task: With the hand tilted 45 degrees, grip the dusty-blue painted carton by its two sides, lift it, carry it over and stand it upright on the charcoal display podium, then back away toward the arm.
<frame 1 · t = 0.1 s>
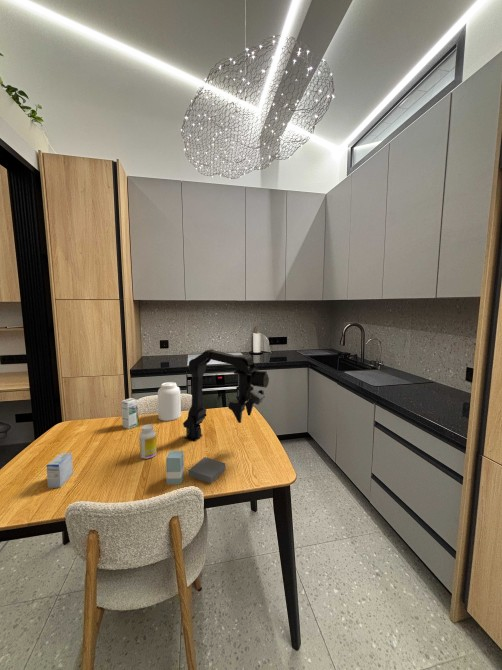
hand: (244, 418, 120), 15 cm above the table, tool pointing down, fingers open, 9 cm apart
podium: (207, 472, 105), on the table
supplement bottle: (148, 455, 117), on the table
syrup box: (130, 426, 146), on the table
carton: (175, 480, 100), on the table
white plastic jar: (169, 417, 158), on the table
medicine box: (61, 481, 99), on the table
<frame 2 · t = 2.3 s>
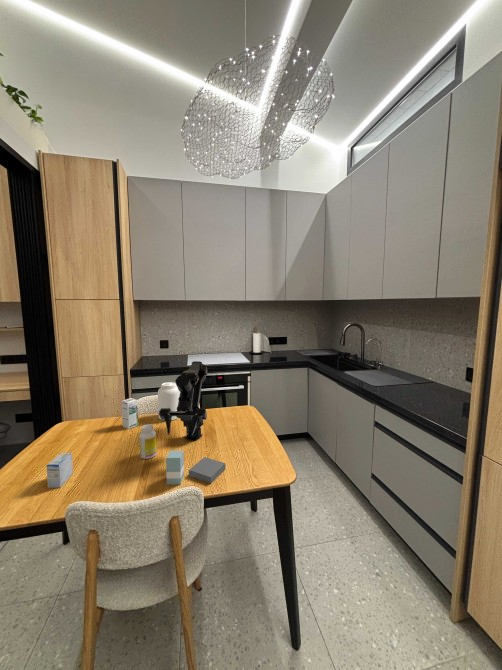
hand: (180, 434, 107), 13 cm above the table, tool tilted 45°, fingers open, 9 cm apart
nothing on the table moved.
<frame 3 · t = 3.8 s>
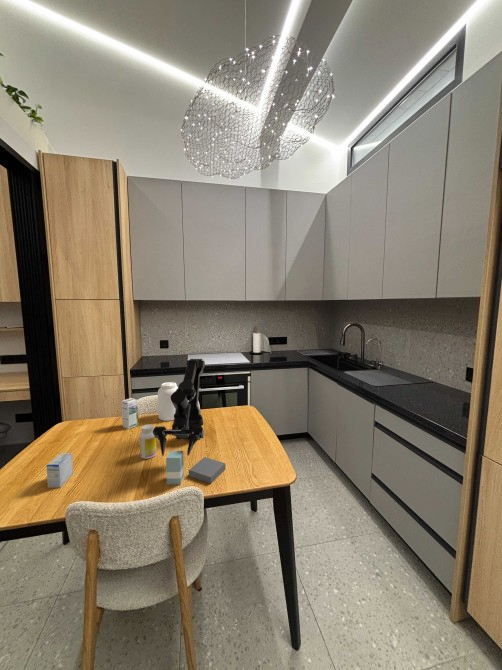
hand: (175, 455, 100), 9 cm above the table, tool tilted 45°, fingers open, 9 cm apart
nothing on the table moved.
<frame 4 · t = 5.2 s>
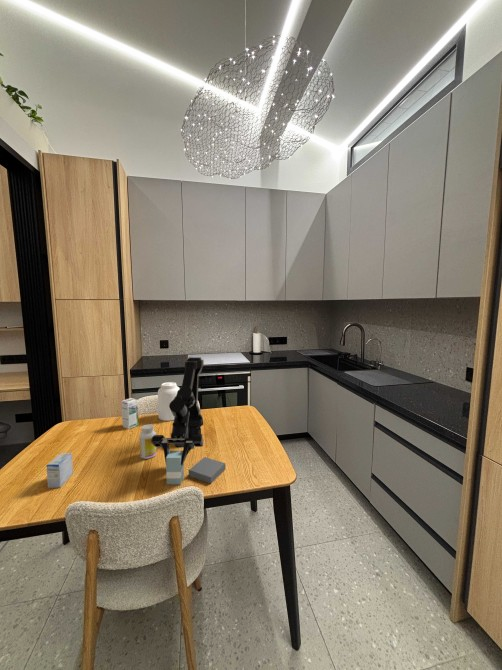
hand: (174, 465, 98), 7 cm above the table, tool tilted 45°, fingers closed on carton, 5 cm apart
carton: (175, 479, 100), on the table, touching gripper
everything else where it was.
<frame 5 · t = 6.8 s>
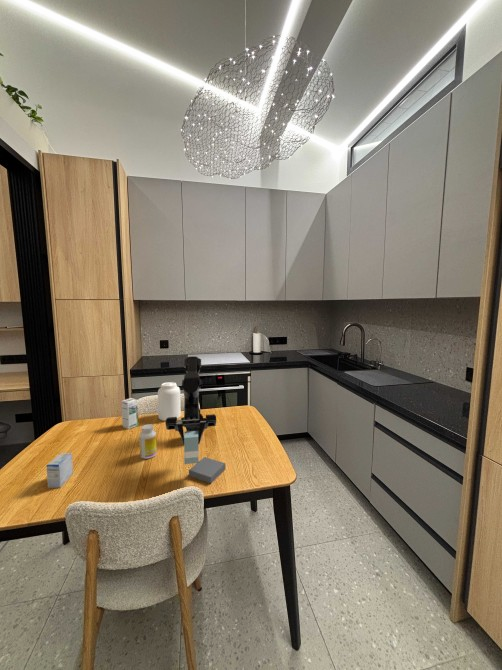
hand: (191, 444, 100), 13 cm above the table, tool tilted 45°, fingers closed on carton, 5 cm apart
carton: (191, 459, 102), point 7 cm above the table, touching gripper
everything else where it was.
when the fingers open (10 cm above the table, at t = 8.4 s): carton stays where it is, resting on podium.
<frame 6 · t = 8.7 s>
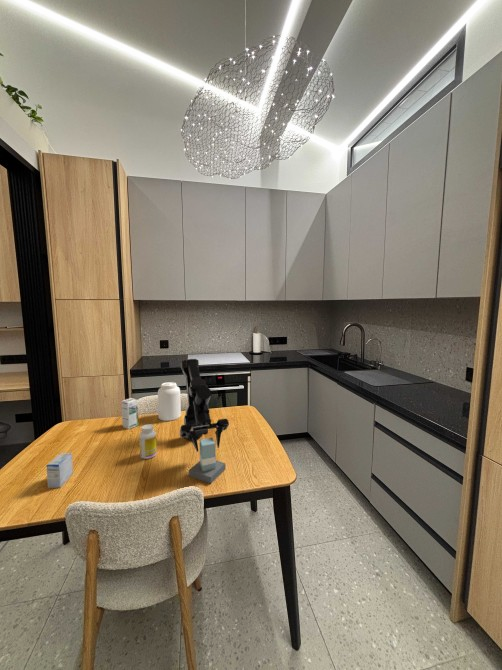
hand: (208, 449, 103), 10 cm above the table, tool tilted 45°, fingers open, 8 cm apart
carton: (207, 466, 105), point 2 cm above the table, touching podium
everything else where it was.
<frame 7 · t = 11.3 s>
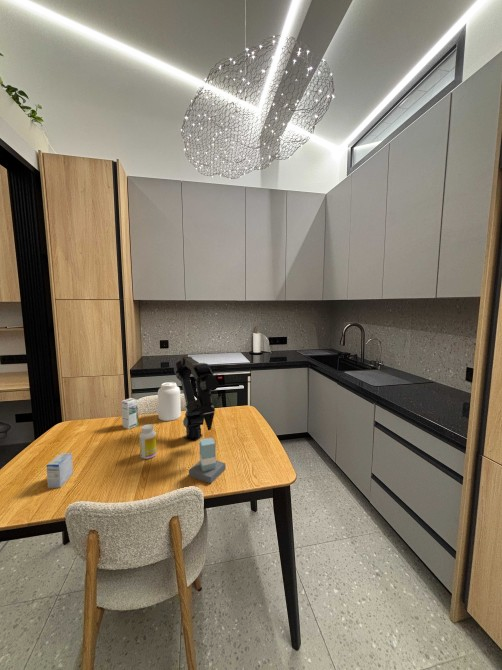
hand: (208, 428, 117), 11 cm above the table, tool tilted 20°, fingers open, 9 cm apart
nothing on the table moved.
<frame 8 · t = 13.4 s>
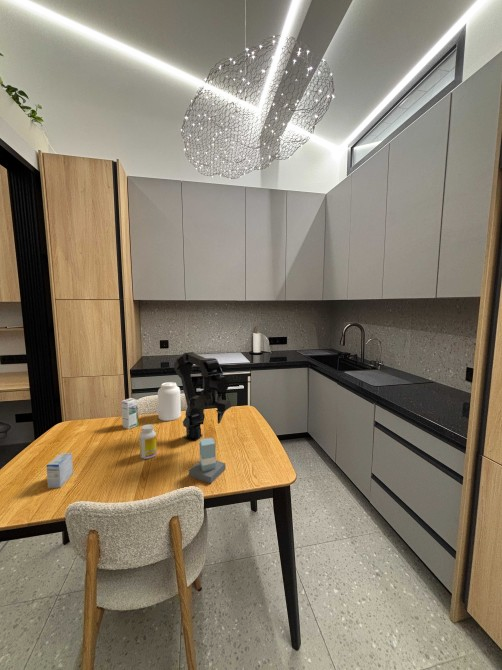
hand: (210, 421, 121), 13 cm above the table, tool pointing down, fingers open, 9 cm apart
nothing on the table moved.
at the end: carton inside the target area on the podium (0.0 cm from its centre), point 2.5 cm above the podium's base; carton tilted 0°; the gripper is holding nothing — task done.
